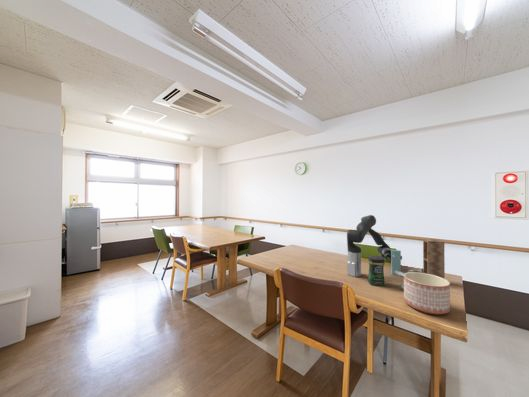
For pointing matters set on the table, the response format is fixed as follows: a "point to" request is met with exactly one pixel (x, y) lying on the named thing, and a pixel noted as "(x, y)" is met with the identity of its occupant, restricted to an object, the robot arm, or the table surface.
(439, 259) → the cabinet
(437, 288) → the planter
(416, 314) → the table surface
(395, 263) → the teal rectangular block
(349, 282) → the table surface
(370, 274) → the coffee jar
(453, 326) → the table surface
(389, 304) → the table surface
